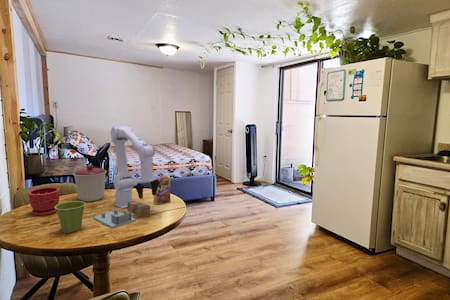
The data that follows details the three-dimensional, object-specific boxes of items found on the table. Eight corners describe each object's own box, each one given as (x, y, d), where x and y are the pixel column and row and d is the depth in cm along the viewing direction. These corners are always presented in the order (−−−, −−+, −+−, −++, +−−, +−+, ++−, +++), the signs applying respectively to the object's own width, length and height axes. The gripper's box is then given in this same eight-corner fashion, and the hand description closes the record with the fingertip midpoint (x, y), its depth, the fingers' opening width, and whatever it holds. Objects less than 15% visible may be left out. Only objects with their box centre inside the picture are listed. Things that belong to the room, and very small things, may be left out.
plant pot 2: (84, 233, 117) (82, 208, 116) (52, 237, 114) (50, 210, 112) (89, 223, 128) (88, 199, 127) (60, 226, 125) (58, 202, 124)
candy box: (155, 205, 155) (155, 178, 153) (153, 203, 158) (152, 177, 156) (170, 202, 159) (170, 176, 158) (168, 200, 163) (167, 175, 161)
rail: (128, 211, 145) (127, 202, 145) (134, 209, 148) (134, 200, 148) (143, 217, 136) (143, 207, 136) (150, 215, 139) (150, 205, 139)
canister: (77, 196, 172) (75, 162, 169) (109, 193, 177) (107, 161, 174) (71, 205, 154) (68, 168, 152) (106, 202, 160) (104, 166, 157)
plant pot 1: (24, 214, 139) (22, 191, 138) (51, 207, 151) (49, 185, 150) (39, 219, 133) (37, 195, 132) (66, 211, 145) (64, 188, 143)
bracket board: (93, 218, 134) (92, 209, 133) (116, 212, 143) (116, 203, 143) (112, 228, 122) (111, 218, 122) (136, 220, 132) (135, 211, 131)
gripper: (138, 173, 128) (139, 201, 130) (163, 168, 139) (164, 195, 141) (130, 171, 133) (131, 198, 135) (155, 167, 144) (155, 192, 146)
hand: (147, 196), depth 138 cm, fingers open, 7 cm apart
